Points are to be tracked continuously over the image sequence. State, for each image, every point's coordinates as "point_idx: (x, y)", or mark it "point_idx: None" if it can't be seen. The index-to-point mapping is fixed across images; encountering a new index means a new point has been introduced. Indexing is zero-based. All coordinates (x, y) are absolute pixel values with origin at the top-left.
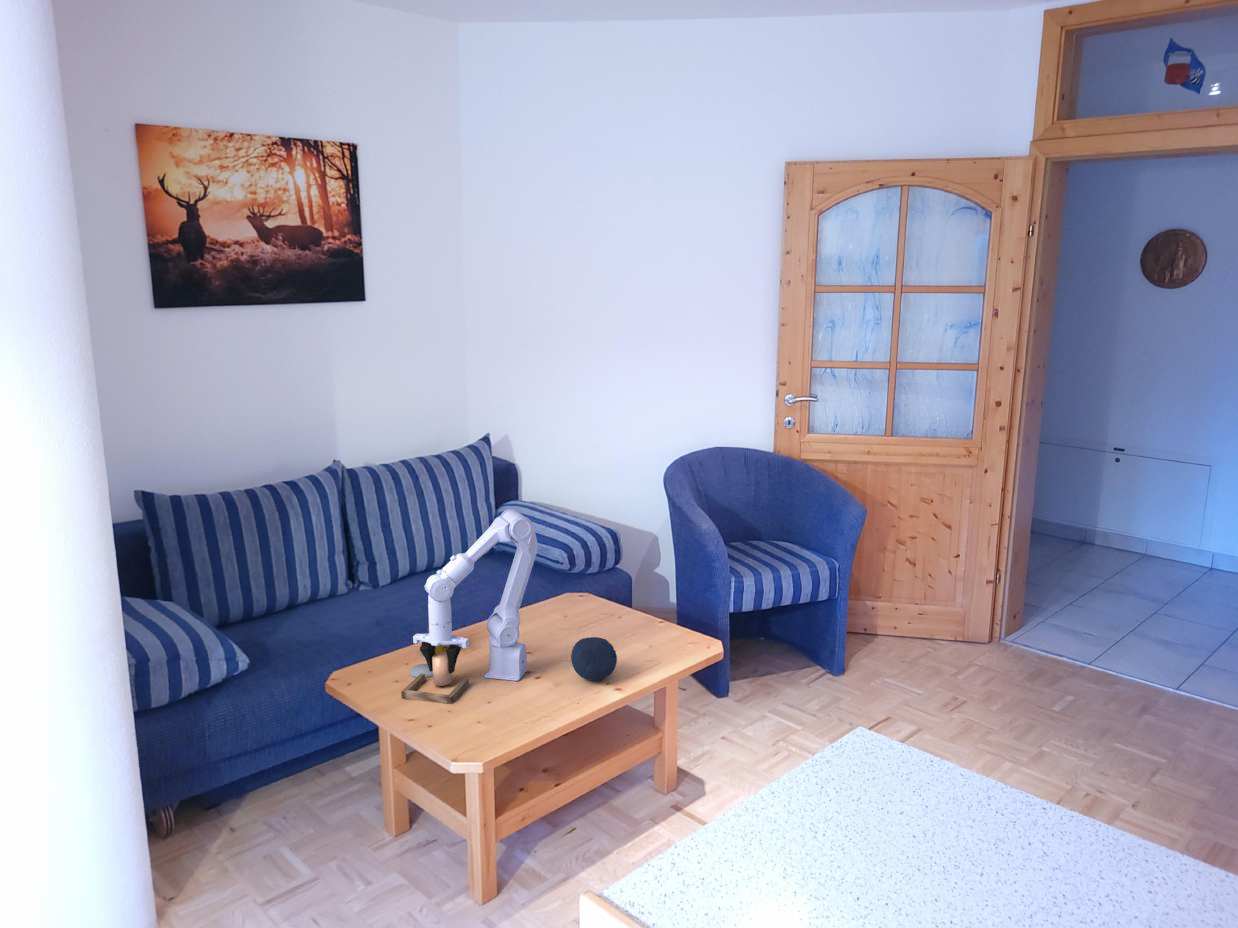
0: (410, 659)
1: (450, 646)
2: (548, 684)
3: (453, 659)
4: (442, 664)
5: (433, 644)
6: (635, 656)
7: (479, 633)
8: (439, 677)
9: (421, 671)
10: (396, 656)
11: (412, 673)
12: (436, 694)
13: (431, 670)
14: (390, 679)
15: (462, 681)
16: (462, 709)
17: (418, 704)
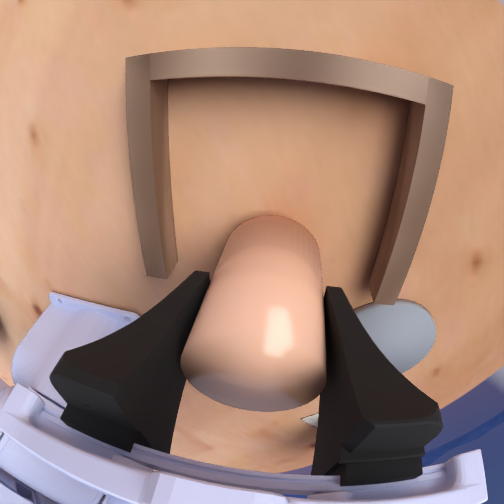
0: (425, 390)
1: (124, 435)
2: (4, 277)
3: (125, 328)
4: (224, 301)
5: (230, 502)
6: (9, 362)
7: (277, 461)
8: (264, 239)
9: (392, 336)
10: (457, 392)
11: (425, 318)
12: (220, 61)
13: (329, 288)
14: (494, 273)
15: (156, 246)
16: (85, 36)
17: (318, 13)
